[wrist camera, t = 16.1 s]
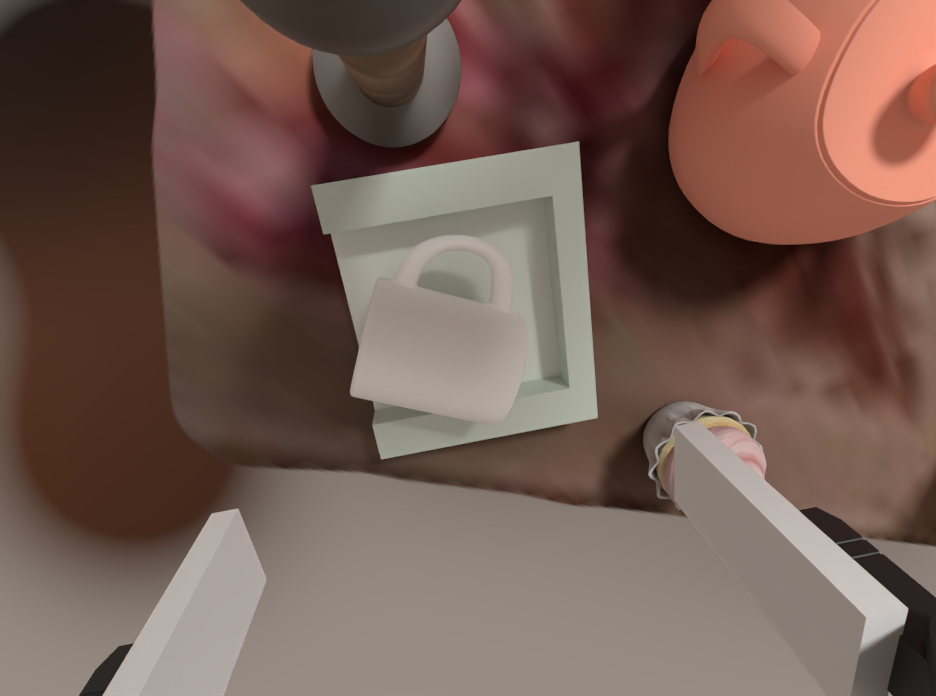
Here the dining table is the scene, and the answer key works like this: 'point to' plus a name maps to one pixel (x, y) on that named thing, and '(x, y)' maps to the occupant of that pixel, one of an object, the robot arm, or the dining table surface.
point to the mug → (443, 341)
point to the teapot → (808, 117)
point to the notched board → (479, 274)
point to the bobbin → (376, 61)
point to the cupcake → (716, 421)
